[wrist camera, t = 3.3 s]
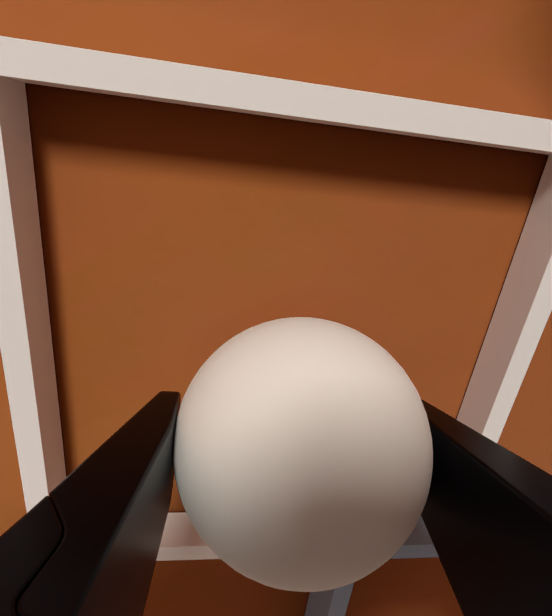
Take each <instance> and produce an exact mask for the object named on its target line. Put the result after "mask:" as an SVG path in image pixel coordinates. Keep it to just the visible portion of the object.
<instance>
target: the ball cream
mask: <svg viewBox="0 0 552 616" xmlns="http://www.w3.org/2000/svg"><path fill="white" fill-rule="evenodd" d="M173 465H174V473H175V480H176V484H177V488H178V492H179V495H180V498H181V501H182V504H183V506H184V509H185V511H186V513H187V515H188V517H189V519H190V521H191V523H192V525H193V526H194V528H195V530H196V531H197V533H198V534H199V536H200V537H201V538H202V540H203V541H204V542H205V543H206V544H207V546H208V547H209V548H210V549H211V550H212V551H213V552H214V553H215V555H216V556H217V557H219V558H220V559H221V560H222V561H224V562H225V563H226V564H228V565H229V566H230V567H231V568H233V569H234V570H235V571H237V572H238V573H240V574H242V575H243V576H245V577H247V578H249V579H252V580H254V581H256V582H258V583H261V584H263V585H265V586H269V587H272V588H275V589H281V590H286V591H297V592H318V591H326V590H332V589H336V588H339V587H343V586H346V585H348V584H351V583H353V582H356V581H358V580H360V579H362V578H364V577H365V576H367V575H369V574H370V573H372V572H373V571H375V570H376V569H378V568H379V567H381V566H382V565H383V564H384V563H386V562H387V561H388V560H389V559H390V558H391V557H392V556H393V555H394V554H395V553H396V552H397V551H398V550H399V549H400V548H401V546H402V545H403V544H404V543H405V541H406V540H407V538H408V537H409V536H410V534H411V533H412V531H413V530H414V528H415V526H416V525H417V522H418V520H419V518H420V516H421V513H422V511H423V508H424V506H425V504H426V501H427V497H428V493H429V489H430V484H431V479H432V470H433V445H432V436H431V431H430V426H429V422H428V418H427V414H426V411H425V409H424V406H423V403H422V401H421V399H420V396H419V394H418V392H417V390H416V388H415V386H414V385H413V383H412V382H411V380H410V378H409V377H408V375H407V374H406V372H405V371H404V369H403V368H402V367H401V366H400V365H399V364H398V363H397V362H396V360H395V359H394V358H393V357H392V356H391V355H390V354H389V353H388V352H387V351H386V350H385V349H384V348H382V347H381V346H380V345H379V344H377V343H376V342H375V341H373V340H372V339H370V338H369V337H367V336H365V335H364V334H362V333H360V332H358V331H357V330H355V329H352V328H350V327H347V326H345V325H342V324H339V323H336V322H332V321H329V320H325V319H319V318H311V317H291V318H283V319H277V320H272V321H268V322H264V323H261V324H259V325H256V326H253V327H251V328H249V329H247V330H245V331H243V332H241V333H239V334H237V335H235V336H234V337H233V338H231V339H230V340H228V341H227V342H225V343H224V344H223V345H222V346H221V347H219V348H218V349H217V350H216V351H215V352H214V353H213V354H212V355H211V356H210V357H209V358H208V359H207V360H206V362H205V363H204V364H203V365H202V366H201V367H200V369H199V370H198V372H197V373H196V375H195V376H194V378H193V380H192V381H191V383H190V385H189V387H188V389H187V391H186V393H185V395H184V398H183V400H182V402H181V406H180V409H179V413H178V417H177V420H176V425H175V433H174V444H173Z"/></svg>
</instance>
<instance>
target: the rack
mask: <svg viewBox="0 0 552 616" xmlns="http://www.w3.org/2000/svg"><path fill="white" fill-rule="evenodd" d="M25 83H29V84H36V85H43V86H51V87H58V88H65V89H72V90H80V91H87V92H94V93H102V94H109V95H116V96H124V97H131V98H138V99H145V100H153V101H160V102H167V103H175V104H182V105H189V106H196V107H204V108H211V109H218V110H226V111H233V112H240V113H247V114H255V115H262V116H269V117H277V118H284V119H291V120H298V121H306V122H313V123H320V124H328V125H335V126H342V127H350V128H357V129H364V130H371V131H379V132H386V133H393V134H401V135H408V136H415V137H422V138H430V139H437V140H444V141H452V142H459V143H466V144H473V145H481V146H488V147H495V148H503V149H510V150H517V151H524V152H532V153H539V154H546V155H549V157H548V160H547V163H546V165H545V168H544V171H543V174H542V177H541V180H540V183H539V185H538V188H537V191H536V194H535V197H534V200H533V202H532V205H531V208H530V211H529V214H528V217H527V220H526V222H525V225H524V228H523V231H522V234H521V237H520V240H519V242H518V245H517V248H516V251H515V254H514V257H513V259H512V262H511V265H510V268H509V271H508V274H507V277H506V279H505V282H504V285H503V288H502V291H501V294H500V297H499V299H498V302H497V305H496V308H495V311H494V314H493V316H492V319H491V322H490V325H489V328H488V331H487V334H486V336H485V339H484V342H483V345H482V348H481V351H480V354H479V356H478V359H477V362H476V365H475V368H474V371H473V374H472V376H471V379H470V382H469V385H468V388H467V391H466V393H465V396H464V399H463V402H462V405H461V408H460V411H459V413H458V416H457V419H456V420H458V421H460V422H461V423H463V424H465V425H466V426H468V427H470V428H472V429H473V430H475V431H477V432H478V433H480V434H482V435H484V436H485V437H487V438H489V439H490V440H492V441H494V442H495V443H497V442H498V440H499V437H500V435H501V433H502V430H503V428H504V425H505V423H506V420H507V418H508V415H509V413H510V411H511V408H512V406H513V403H514V401H515V398H516V396H517V393H518V391H519V388H520V386H521V384H522V381H523V379H524V376H525V374H526V371H527V369H528V366H529V364H530V362H531V359H532V357H533V354H534V352H535V349H536V347H537V344H538V342H539V340H540V337H541V335H542V332H543V330H544V327H545V325H546V322H547V320H548V318H549V315H550V313H551V310H552V120H549V119H542V118H536V117H529V116H522V115H516V114H509V113H503V112H496V111H490V110H483V109H476V108H470V107H463V106H457V105H450V104H444V103H437V102H430V101H424V100H417V99H411V98H404V97H398V96H391V95H385V94H378V93H371V92H365V91H358V90H352V89H345V88H339V87H332V86H325V85H319V84H312V83H306V82H299V81H293V80H286V79H279V78H273V77H266V76H260V75H253V74H247V73H240V72H234V71H227V70H220V69H214V68H207V67H201V66H194V65H188V64H181V63H174V62H168V61H161V60H155V59H148V58H142V57H135V56H128V55H122V54H115V53H109V52H102V51H96V50H89V49H83V48H76V47H69V46H63V45H56V44H50V43H43V42H37V41H30V40H23V39H17V38H10V37H4V36H0V348H1V355H2V361H3V367H4V373H5V380H6V386H7V392H8V398H9V405H10V411H11V417H12V423H13V430H14V436H15V442H16V448H17V454H18V461H19V467H20V473H21V479H22V486H23V492H24V498H25V504H26V511H27V513H28V512H29V511H30V510H31V509H32V508H33V507H34V506H35V505H36V504H38V503H39V502H40V501H41V500H42V499H43V498H44V497H45V496H49V493H50V492H51V491H52V490H53V489H54V488H55V487H56V486H58V485H59V484H60V483H61V482H62V481H63V480H64V479H65V478H66V470H65V460H64V451H63V441H62V432H61V422H60V412H59V403H58V393H57V384H56V374H55V365H54V355H53V346H52V336H51V326H50V317H49V307H48V298H47V288H46V279H45V269H44V260H43V250H42V240H41V231H40V221H39V212H38V202H37V193H36V183H35V174H34V164H33V155H32V145H31V135H30V126H29V116H28V107H27V97H26V88H25ZM202 559H220V558H219V557H217V556H216V555H215V553H214V552H213V551H212V550H211V549H210V548H209V547H208V546H207V544H206V543H205V542H204V541H203V540H202V538H201V537H200V536H199V534H198V533H197V531H196V530H195V528H194V526H193V525H192V523H191V521H190V519H189V517H188V515H187V513H186V512H181V513H168V515H167V519H166V523H165V527H164V531H163V535H162V539H161V543H160V547H159V551H158V555H157V559H156V561H170V560H202Z"/></svg>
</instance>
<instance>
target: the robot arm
mask: <svg viewBox="0 0 552 616" xmlns="http://www.w3.org/2000/svg"><path fill="white" fill-rule="evenodd" d="M421 401H422V403H423V406H424V409H425V411H426V414H427V418H428V422H429V426H430V431H431V436H432V445H433V470H432V479H431V484H430V489H429V493H428V497H427V501H426V504H425V506H424V508H423V511H422V513H421V517H422V519H423V521H424V524H425V526H426V528H427V531H428V533H429V535H430V538H431V540H432V542H433V545H434V547H435V549H436V552H437V554H438V556H439V559H440V561H441V563H442V566H443V568H444V570H445V573H446V575H447V577H448V580H449V582H450V584H451V587H452V589H453V591H454V594H455V596H456V598H457V601H458V603H459V605H460V608H461V610H462V612H463V615H464V616H552V475H550V474H548V473H547V472H545V471H543V470H542V469H540V468H538V467H536V466H535V465H533V464H531V463H530V462H528V461H526V460H525V459H523V458H521V457H519V456H518V455H516V454H514V453H513V452H511V451H509V450H507V449H506V448H504V447H502V446H501V445H499V444H497V443H495V442H494V441H492V440H490V439H489V438H487V437H485V436H484V435H482V434H480V433H478V432H477V431H475V430H473V429H472V428H470V427H468V426H466V425H465V424H463V423H461V422H460V421H458V420H456V419H454V418H453V417H451V416H449V415H448V414H446V413H444V412H442V411H441V410H439V409H437V408H436V407H434V406H432V405H431V404H429V403H427V402H425V401H424V400H422V399H421ZM179 409H180V393H179V392H171V391H161V392H159V393H158V394H157V395H156V396H155V397H154V398H153V399H152V400H150V401H149V402H148V403H147V404H146V405H145V406H144V407H143V408H142V409H141V410H140V411H138V412H137V413H136V414H135V415H134V416H133V417H132V418H131V419H130V420H129V421H127V422H126V423H125V424H124V425H123V426H122V427H121V428H120V429H119V430H118V431H117V432H115V433H114V434H113V435H112V436H111V437H110V438H109V439H108V440H107V441H106V442H105V443H103V444H102V445H101V446H100V447H99V448H98V449H97V450H96V451H95V452H94V453H92V454H91V455H90V456H89V457H88V458H87V459H86V460H85V461H84V462H83V463H82V464H80V465H79V466H78V467H77V468H76V469H75V470H74V471H73V472H72V473H71V474H70V475H68V476H67V477H66V478H65V479H64V480H63V481H62V482H61V483H60V484H59V485H58V486H56V487H55V488H54V489H53V490H52V491H51V492H50V493H49V496H45V497H44V498H43V499H42V500H41V501H40V502H39V503H38V504H36V505H35V506H34V507H33V508H32V509H31V510H30V511H29V512H28V513H27V514H25V515H24V516H23V517H22V518H21V519H20V520H18V521H17V522H16V523H15V524H14V525H13V526H12V527H10V528H9V529H8V530H7V531H6V532H5V533H4V534H2V535H1V536H0V616H143V612H144V608H145V604H146V600H147V596H148V592H149V587H150V583H151V579H152V575H153V571H154V567H155V563H156V559H157V555H158V551H159V547H160V543H161V539H162V535H163V531H164V527H165V523H166V519H167V515H168V510H169V506H170V501H171V495H172V488H173V479H174V465H173V444H174V433H175V425H176V420H177V417H178V413H179Z"/></svg>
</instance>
